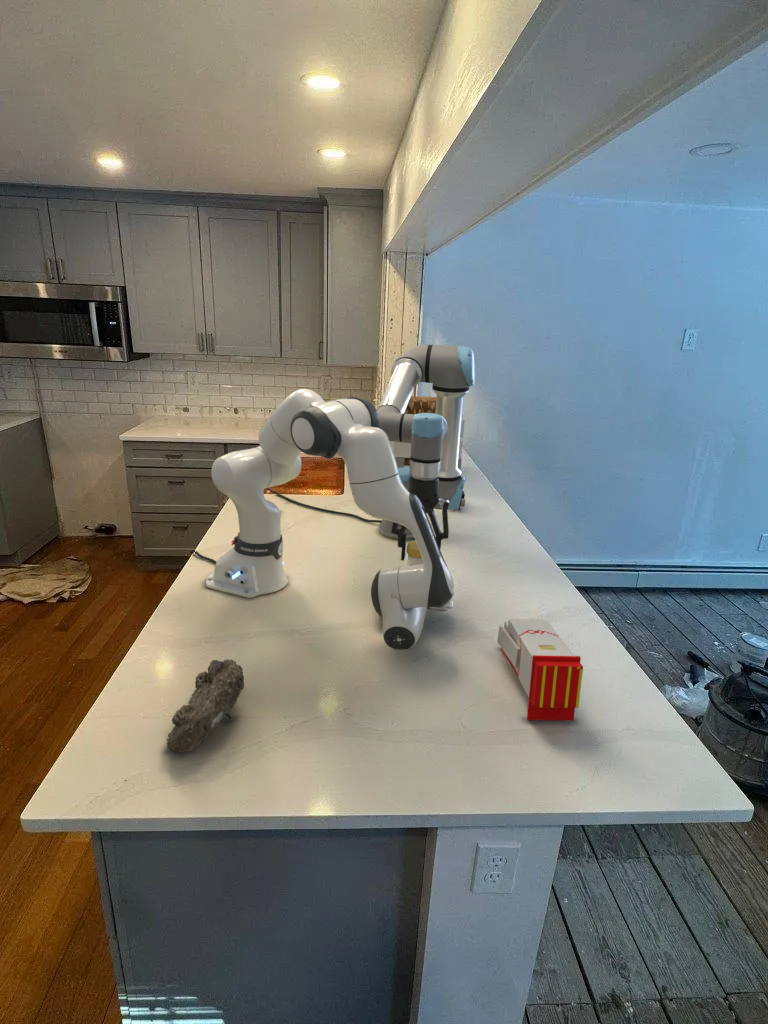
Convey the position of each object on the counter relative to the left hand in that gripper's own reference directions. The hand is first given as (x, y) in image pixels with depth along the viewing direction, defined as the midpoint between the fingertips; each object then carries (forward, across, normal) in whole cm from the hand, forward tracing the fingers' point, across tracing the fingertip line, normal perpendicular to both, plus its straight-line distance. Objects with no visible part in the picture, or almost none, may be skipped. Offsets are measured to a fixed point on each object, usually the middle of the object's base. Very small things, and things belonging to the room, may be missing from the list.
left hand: (417, 580), depth 152 cm
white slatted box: (+128, +16, +6) cm, 129 cm away
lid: (-1, 0, -10) cm, 10 cm away
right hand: (-1, 0, -6) cm, 7 cm away
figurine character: (+83, -5, +6) cm, 83 cm away
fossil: (-55, +32, +6) cm, 64 cm away
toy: (-28, -29, +6) cm, 41 cm away
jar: (-1, 0, +6) cm, 6 cm away
